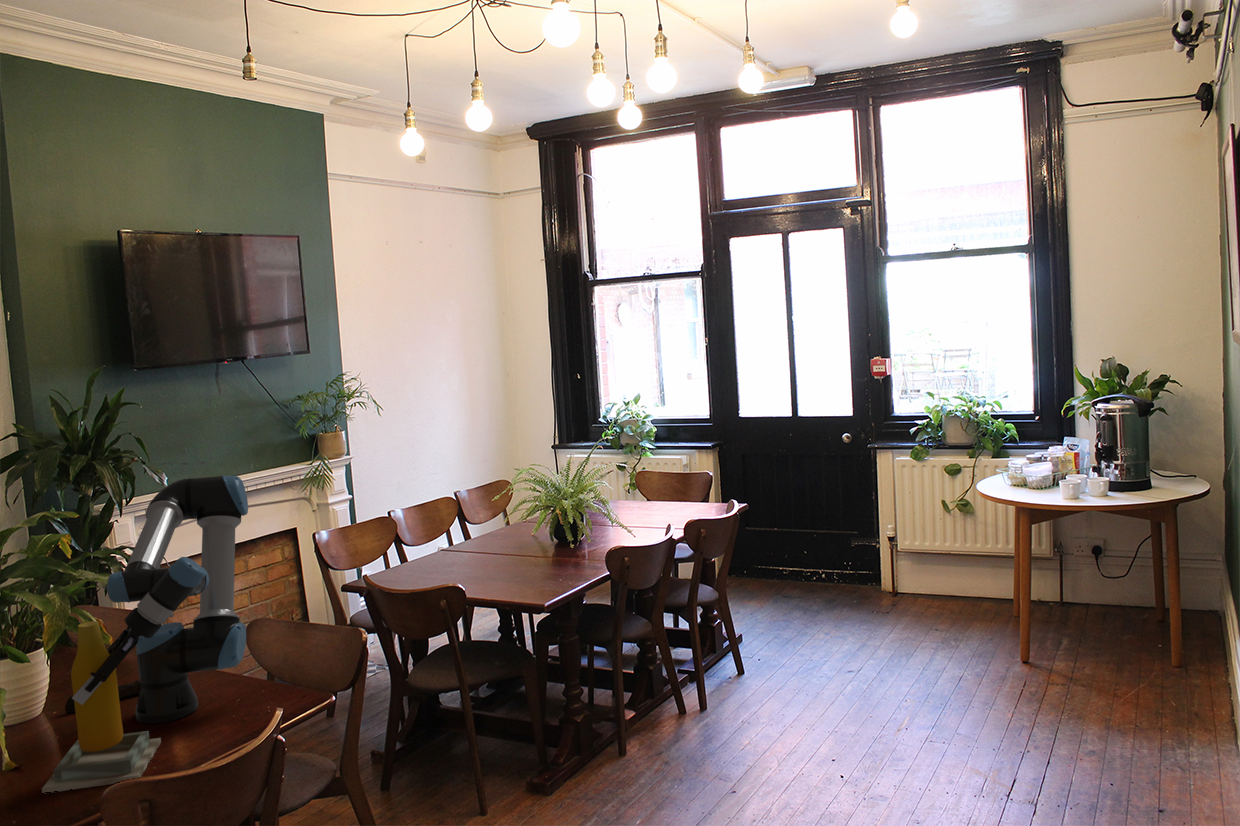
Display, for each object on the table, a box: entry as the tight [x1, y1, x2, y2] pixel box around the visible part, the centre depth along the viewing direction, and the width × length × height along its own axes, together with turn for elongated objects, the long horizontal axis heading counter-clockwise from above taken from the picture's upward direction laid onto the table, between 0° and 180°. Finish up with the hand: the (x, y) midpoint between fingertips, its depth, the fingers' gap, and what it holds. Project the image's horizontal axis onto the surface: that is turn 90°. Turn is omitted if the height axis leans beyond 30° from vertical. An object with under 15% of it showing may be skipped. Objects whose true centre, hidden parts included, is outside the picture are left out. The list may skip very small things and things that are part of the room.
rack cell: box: [41, 730, 162, 794], centre depth 224 cm, size 20×20×4 cm
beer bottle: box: [70, 620, 124, 752], centre depth 221 cm, size 9×9×29 cm
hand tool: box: [64, 679, 141, 714], centre depth 263 cm, size 19×4×5 cm, turn 130°
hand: (80, 693), depth 220 cm, fingers closed on beer bottle, 9 cm apart
